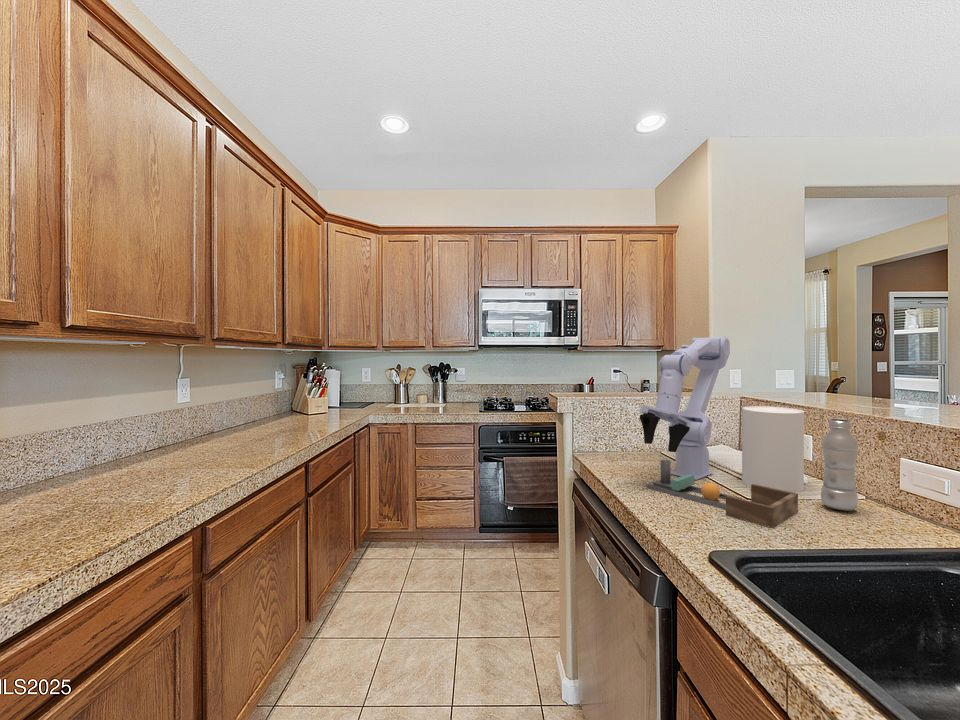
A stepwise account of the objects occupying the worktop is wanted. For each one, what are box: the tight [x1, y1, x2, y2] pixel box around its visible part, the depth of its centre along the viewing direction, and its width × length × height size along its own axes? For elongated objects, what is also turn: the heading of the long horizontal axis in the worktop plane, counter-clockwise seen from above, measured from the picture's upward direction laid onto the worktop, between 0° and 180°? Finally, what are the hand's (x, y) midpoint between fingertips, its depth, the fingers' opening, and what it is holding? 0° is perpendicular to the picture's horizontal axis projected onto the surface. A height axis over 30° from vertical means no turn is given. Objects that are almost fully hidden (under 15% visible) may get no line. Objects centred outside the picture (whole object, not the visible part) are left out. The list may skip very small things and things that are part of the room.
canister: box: [741, 405, 805, 494], centre depth 114 cm, size 14×14×20 cm
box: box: [725, 484, 799, 528], centre depth 95 cm, size 14×9×4 cm, turn 127°
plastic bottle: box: [820, 418, 859, 512], centre depth 96 cm, size 6×7×20 cm
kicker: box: [652, 459, 695, 491], centre depth 111 cm, size 8×8×7 cm
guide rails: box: [646, 483, 743, 510], centre depth 107 cm, size 7×20×1 cm, turn 37°
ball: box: [700, 482, 721, 501], centre depth 103 cm, size 4×4×4 cm
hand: (660, 447), depth 111 cm, fingers open, 7 cm apart
